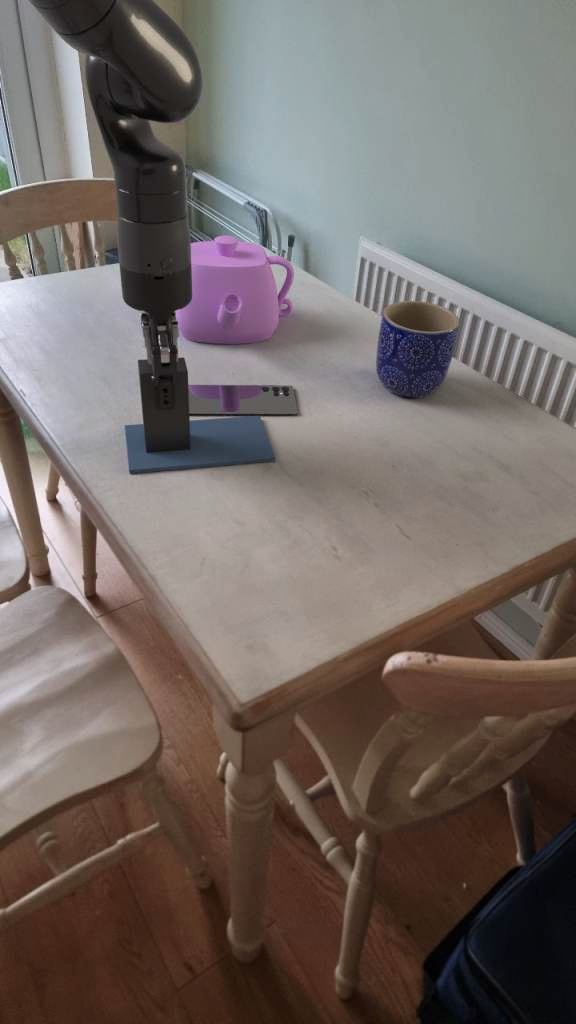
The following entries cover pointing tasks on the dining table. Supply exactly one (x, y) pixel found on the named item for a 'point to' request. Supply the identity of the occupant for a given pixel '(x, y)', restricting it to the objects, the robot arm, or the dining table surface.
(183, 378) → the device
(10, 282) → the dining table surface
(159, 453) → the mat
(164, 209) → the robot arm
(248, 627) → the dining table surface
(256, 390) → the smartphone
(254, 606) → the dining table surface
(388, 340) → the planter
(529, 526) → the dining table surface
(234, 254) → the teapot
